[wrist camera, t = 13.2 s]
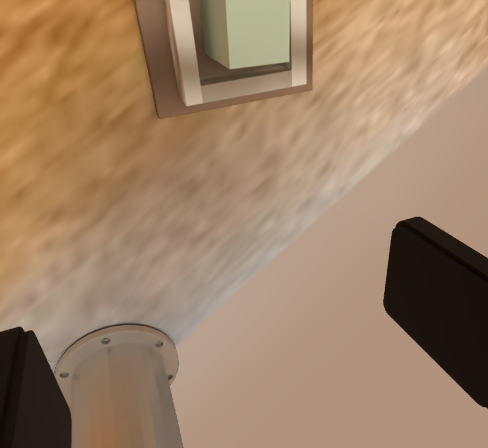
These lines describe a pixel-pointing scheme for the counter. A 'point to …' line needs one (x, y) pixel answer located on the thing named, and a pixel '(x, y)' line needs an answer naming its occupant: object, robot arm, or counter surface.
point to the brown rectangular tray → (207, 69)
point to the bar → (246, 31)
